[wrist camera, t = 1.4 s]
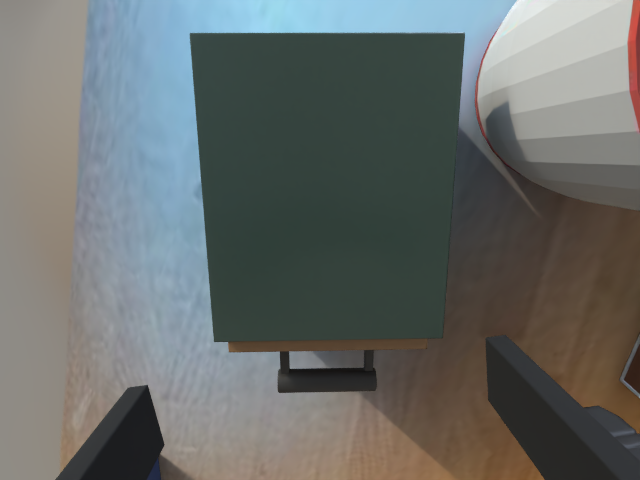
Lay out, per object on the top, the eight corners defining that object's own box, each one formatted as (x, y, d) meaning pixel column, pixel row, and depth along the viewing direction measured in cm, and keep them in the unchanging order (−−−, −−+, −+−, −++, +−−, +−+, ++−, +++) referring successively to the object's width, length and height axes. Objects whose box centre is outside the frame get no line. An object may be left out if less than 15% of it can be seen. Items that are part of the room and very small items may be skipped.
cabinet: (404, 283, 31) (443, 338, 22) (243, 286, 31) (213, 342, 22) (414, 73, 28) (465, 32, 18) (231, 74, 27) (189, 32, 18)
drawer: (396, 353, 32) (423, 415, 24) (252, 355, 32) (233, 419, 24) (407, 104, 27) (444, 84, 20) (238, 105, 27) (210, 86, 19)
